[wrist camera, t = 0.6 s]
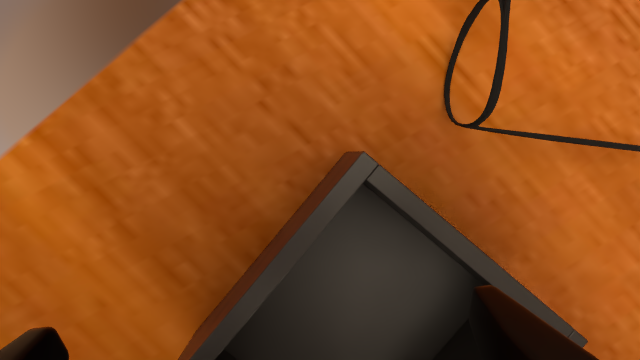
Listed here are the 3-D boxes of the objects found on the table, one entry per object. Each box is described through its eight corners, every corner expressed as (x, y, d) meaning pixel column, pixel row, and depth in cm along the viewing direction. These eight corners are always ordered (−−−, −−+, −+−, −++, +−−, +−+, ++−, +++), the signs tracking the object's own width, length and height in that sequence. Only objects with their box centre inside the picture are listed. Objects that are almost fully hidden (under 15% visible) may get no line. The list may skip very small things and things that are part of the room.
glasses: (469, -132, 21) (534, -221, 16) (698, -79, 23) (818, -141, 18) (437, 133, 22) (488, 129, 17) (660, 159, 24) (763, 162, 19)
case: (346, 151, 21) (363, 150, 15) (504, 284, 22) (589, 341, 16) (194, 333, 22) (143, 414, 15) (354, 456, 23) (373, 584, 16)
